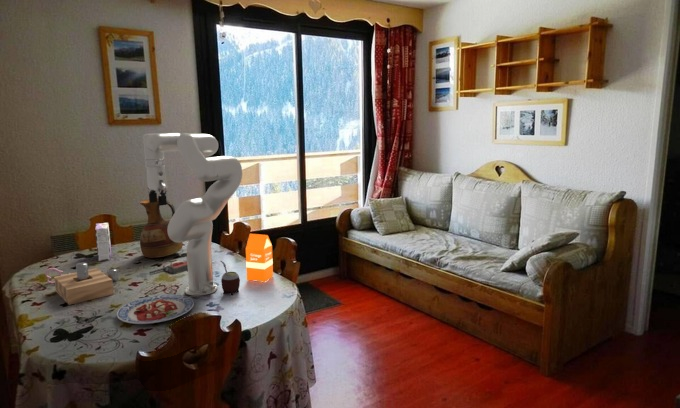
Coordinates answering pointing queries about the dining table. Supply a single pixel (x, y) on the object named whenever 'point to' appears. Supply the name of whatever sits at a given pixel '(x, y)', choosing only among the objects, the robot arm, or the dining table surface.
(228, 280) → the mate gourd
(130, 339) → the dining table surface
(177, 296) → the ceramic plate
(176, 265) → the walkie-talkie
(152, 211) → the ceramic pitcher
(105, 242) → the candy box
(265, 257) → the orange juice
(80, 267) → the tall pin
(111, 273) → the short pin
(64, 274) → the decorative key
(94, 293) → the hole block
